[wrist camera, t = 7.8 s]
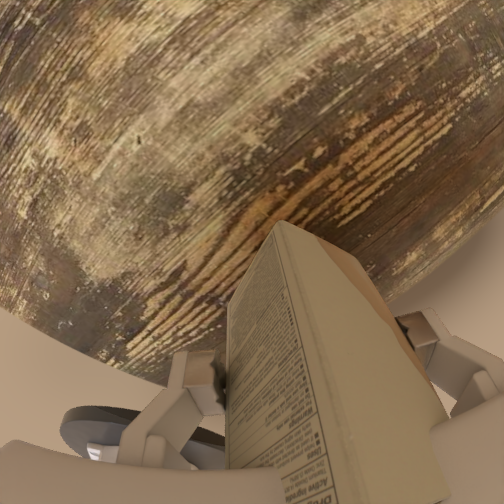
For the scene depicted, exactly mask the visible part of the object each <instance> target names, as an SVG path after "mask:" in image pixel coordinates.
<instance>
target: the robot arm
mask: <svg viewBox="0 0 504 504" xmlns="http://www.w3.org/2000/svg"><path fill="white" fill-rule="evenodd" d="M395 320H396V322H397V323H398V325H399V326H400V328H401V330H402V332H403V333H404V335H405V336H406V338H407V340H408V342H409V343H410V345H411V347H412V349H413V350H414V352H415V354H416V355H417V357H418V359H419V361H420V362H421V364H422V366H423V368H424V370H425V372H426V374H427V376H428V378H429V380H430V381H431V382H433V383H434V384H436V385H437V386H438V387H439V388H441V389H442V390H443V391H445V392H446V393H448V394H449V395H450V396H452V397H453V398H454V399H456V400H457V403H456V404H455V406H454V407H453V409H452V411H451V412H450V415H451V417H452V418H451V419H448V420H446V421H444V422H441V423H439V424H436V425H434V426H432V427H431V428H430V431H429V435H430V439H431V443H432V447H433V451H434V454H435V456H436V458H437V461H438V463H439V466H440V468H441V470H442V473H443V475H444V477H445V480H446V482H447V484H448V487H449V489H450V492H451V497H449V498H447V499H444V500H443V501H442V502H441V503H440V504H504V362H503V360H502V359H500V358H499V357H497V356H495V355H493V354H491V353H489V352H487V351H485V350H483V349H481V348H479V347H477V346H475V345H473V344H471V343H469V342H467V341H465V340H463V339H461V338H459V337H457V336H451V334H450V333H449V331H448V330H447V329H446V327H445V326H444V324H443V323H442V321H441V320H440V318H439V317H438V316H437V314H436V313H435V311H434V310H433V309H432V308H427V309H424V310H420V311H416V312H412V313H409V314H405V315H401V316H398V317H395ZM220 358H221V356H220V353H219V351H218V349H212V350H198V351H186V352H175V354H174V356H173V360H172V365H171V370H170V376H169V381H168V386H167V389H163V390H162V391H161V392H160V393H159V394H158V395H157V396H156V397H155V398H154V399H153V400H152V402H151V403H150V404H149V405H148V406H147V407H146V408H145V409H144V410H143V411H142V412H141V413H140V414H139V415H138V416H137V417H136V418H135V419H134V420H133V421H132V422H131V423H130V424H129V425H128V426H127V427H126V429H125V430H124V431H123V432H122V435H121V439H120V444H119V446H107V445H100V444H96V443H87V451H88V453H89V455H90V458H91V459H87V458H83V457H78V456H73V455H69V454H65V453H61V452H57V451H53V450H50V449H46V448H42V447H39V446H35V445H32V444H29V443H27V442H24V441H20V440H12V441H10V442H8V443H7V444H6V445H4V446H3V447H2V448H0V504H286V499H285V491H284V488H283V485H282V481H281V478H280V475H279V472H278V470H277V469H276V468H275V467H273V466H267V467H256V468H243V469H222V470H199V469H198V468H197V467H196V466H195V465H193V464H191V463H189V462H188V461H187V460H186V459H185V458H184V457H183V456H182V455H181V454H180V451H181V450H182V448H183V447H184V445H185V444H186V442H187V441H188V440H189V438H190V437H191V435H192V434H193V432H194V431H195V429H196V428H197V426H198V425H199V423H200V422H201V420H202V419H203V416H213V415H223V414H225V411H226V395H225V393H224V392H225V391H226V370H225V367H224V364H223V363H221V362H220Z"/></svg>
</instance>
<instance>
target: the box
mask: <svg viewBox="0 0 504 504" xmlns="http://www.w3.org/2000/svg"><path fill="white" fill-rule="evenodd" d="M225 395H226V411H225V469H243V468H256V467H267V466H273V467H275V468H276V469H277V470H278V472H279V475H280V478H281V481H282V485H283V488H284V491H285V499H286V504H440V503H441V502H442V501H443V500H444V499H447V498H449V497H451V492H450V489H449V487H448V484H447V482H446V480H445V477H444V475H443V473H442V470H441V468H440V466H439V463H438V461H437V458H436V456H435V454H434V451H433V447H432V443H431V439H430V435H429V431H430V428H431V427H432V426H434V425H436V424H439V423H441V422H444V421H446V420H448V419H449V417H448V415H447V413H446V411H445V409H444V407H443V405H442V403H441V401H440V399H439V397H438V395H437V393H436V391H435V389H434V387H433V385H432V383H431V382H430V380H429V378H428V376H427V374H426V372H425V370H424V368H423V366H422V364H421V362H420V361H419V359H418V357H417V355H416V354H415V352H414V350H413V349H412V347H411V345H410V343H409V342H408V340H407V338H406V336H405V335H404V333H403V332H402V330H401V328H400V326H399V325H398V323H397V322H396V320H395V318H394V317H393V315H392V313H391V312H390V310H389V309H388V307H387V305H386V304H385V302H384V300H383V299H382V297H381V295H380V294H379V292H378V290H377V289H376V287H375V286H374V284H373V283H372V281H371V279H370V278H369V276H368V275H367V273H366V272H365V270H364V269H363V267H362V266H361V264H360V263H359V261H358V260H357V259H356V258H355V257H354V256H352V255H350V254H349V253H347V252H345V251H344V250H342V249H340V248H338V247H336V246H335V245H333V244H331V243H329V242H327V241H325V240H323V239H321V238H319V237H317V236H315V235H314V234H311V233H309V232H307V231H305V230H303V229H301V228H299V227H297V226H295V225H293V224H291V223H289V222H286V221H284V220H279V221H277V222H276V223H275V225H274V226H273V228H272V230H271V231H270V233H269V234H268V236H267V237H266V239H265V241H264V242H263V244H262V245H261V247H260V249H259V250H258V252H257V254H256V255H255V257H254V259H253V261H252V262H251V264H250V266H249V268H248V270H247V271H246V273H245V275H244V276H243V278H242V280H241V282H240V283H239V285H238V287H237V289H236V291H235V293H234V294H233V296H232V298H231V300H230V302H229V304H228V306H227V345H226V391H225Z"/></svg>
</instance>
